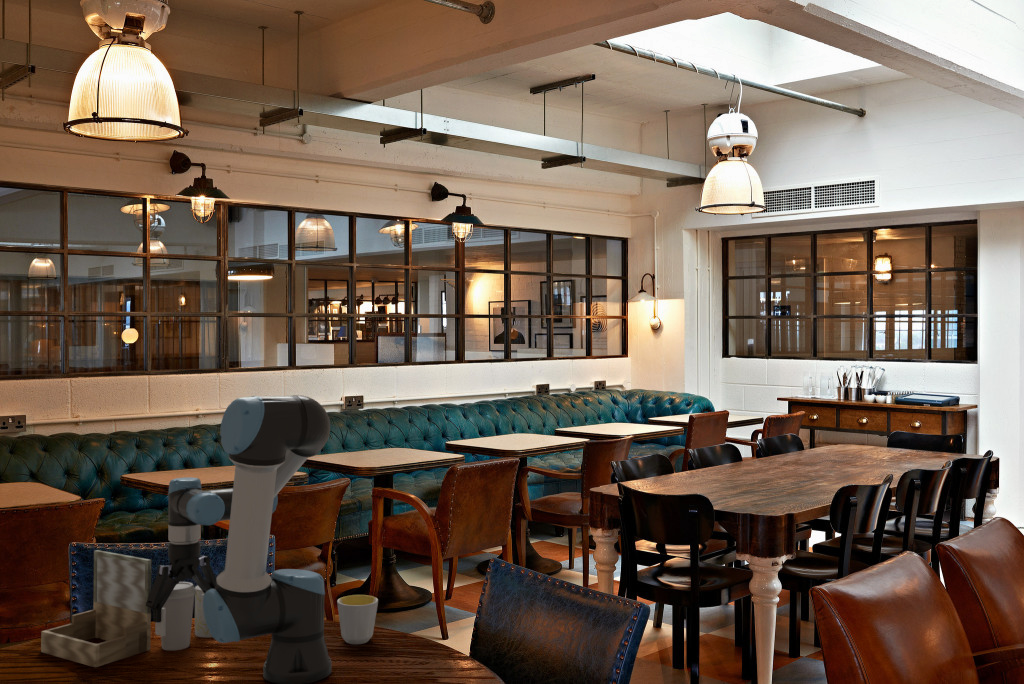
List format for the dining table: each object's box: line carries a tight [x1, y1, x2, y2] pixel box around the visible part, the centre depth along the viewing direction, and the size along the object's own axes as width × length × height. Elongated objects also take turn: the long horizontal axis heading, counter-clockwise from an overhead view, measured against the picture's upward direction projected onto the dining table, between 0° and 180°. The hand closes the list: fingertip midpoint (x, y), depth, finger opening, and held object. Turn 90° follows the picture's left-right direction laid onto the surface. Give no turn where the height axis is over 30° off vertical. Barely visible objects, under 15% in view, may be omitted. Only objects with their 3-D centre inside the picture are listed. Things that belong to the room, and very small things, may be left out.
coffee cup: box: [160, 581, 197, 651], centre depth 230 cm, size 10×10×15 cm
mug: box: [336, 594, 379, 645], centre depth 237 cm, size 14×10×10 cm
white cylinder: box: [194, 585, 213, 638], centre depth 241 cm, size 8×8×12 cm
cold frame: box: [40, 549, 152, 668], centre depth 227 cm, size 21×16×22 cm
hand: (183, 628), depth 228 cm, fingers open, 13 cm apart
